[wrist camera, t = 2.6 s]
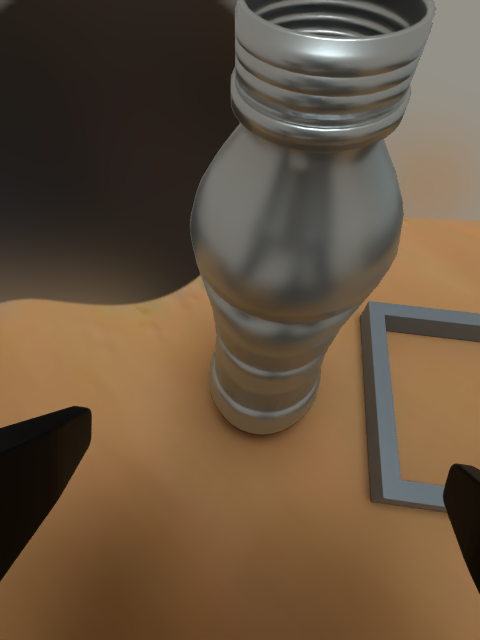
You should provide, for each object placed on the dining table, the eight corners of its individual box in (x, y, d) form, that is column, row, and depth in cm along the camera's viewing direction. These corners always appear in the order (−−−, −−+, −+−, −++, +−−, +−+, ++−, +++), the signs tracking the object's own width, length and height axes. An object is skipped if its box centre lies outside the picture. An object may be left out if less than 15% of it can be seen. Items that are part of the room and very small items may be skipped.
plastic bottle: (190, 401, 23) (66, 8, 6) (252, 330, 26) (289, -73, 9) (272, 466, 21) (435, 154, 4) (329, 381, 24) (568, -11, 7)
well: (602, 534, 19) (638, 534, 18) (370, 501, 20) (383, 498, 18) (533, 336, 26) (554, 322, 24) (360, 316, 27) (368, 301, 25)
